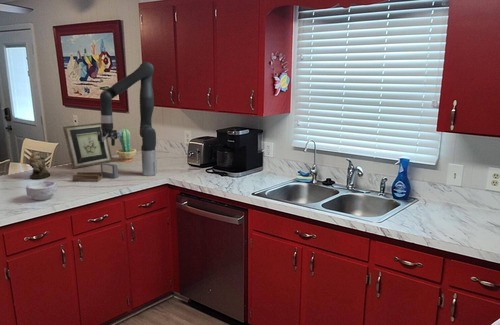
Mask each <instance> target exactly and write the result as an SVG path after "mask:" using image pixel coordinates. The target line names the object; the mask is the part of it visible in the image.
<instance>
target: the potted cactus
mask: <svg viewBox="0 0 500 325" xmlns="http://www.w3.org/2000/svg"><path fill="white" fill-rule="evenodd" d="M117 139H118V140H119V142H120V146H121V149H117V150H116V154H117V155H118V158H119V160H120V161H121V162H124V163H125V162H126V163H128V162H132V161H133V159H134V158H135V155H136V153H137V149H135V148H132V147H131V132H130V131H129V130H128V129H127V128H126V129H125V128H122V129H121V130H118V131H117Z"/></svg>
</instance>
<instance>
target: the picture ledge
mask: <svg viewBox="0 0 500 325" xmlns="http://www.w3.org/2000/svg"><path fill="white" fill-rule="evenodd" d="M103 178H104V177H103V176H102V172H101V171H77V172H76V174H72V182H73V183H79V182H80V183H83V182H84V183H88V182H89V183H90V182H91V183H93V182H94V183H97V182H98V183H99V182H100V181H101V180H102V179H103Z"/></svg>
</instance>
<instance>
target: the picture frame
mask: <svg viewBox="0 0 500 325" xmlns="http://www.w3.org/2000/svg"><path fill="white" fill-rule="evenodd" d="M62 130H63V134H64V138H65V139H64V140H65V142H66V146H67V151H68V155H69V159H70V160H69V161H70V164H71V168H72V169H78V168H83V167H84V168H85V167H90V166H95V165H99V164H100V165H101V163H110V162H113V161H114V160H113V156H112V152H111V147H110V144H109V137H108V138H106V139H105V140H104V148H102V147H101V142H100V141H98V132H102V129H101V122H97V123H86V124H78V125H68V126H62Z"/></svg>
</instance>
